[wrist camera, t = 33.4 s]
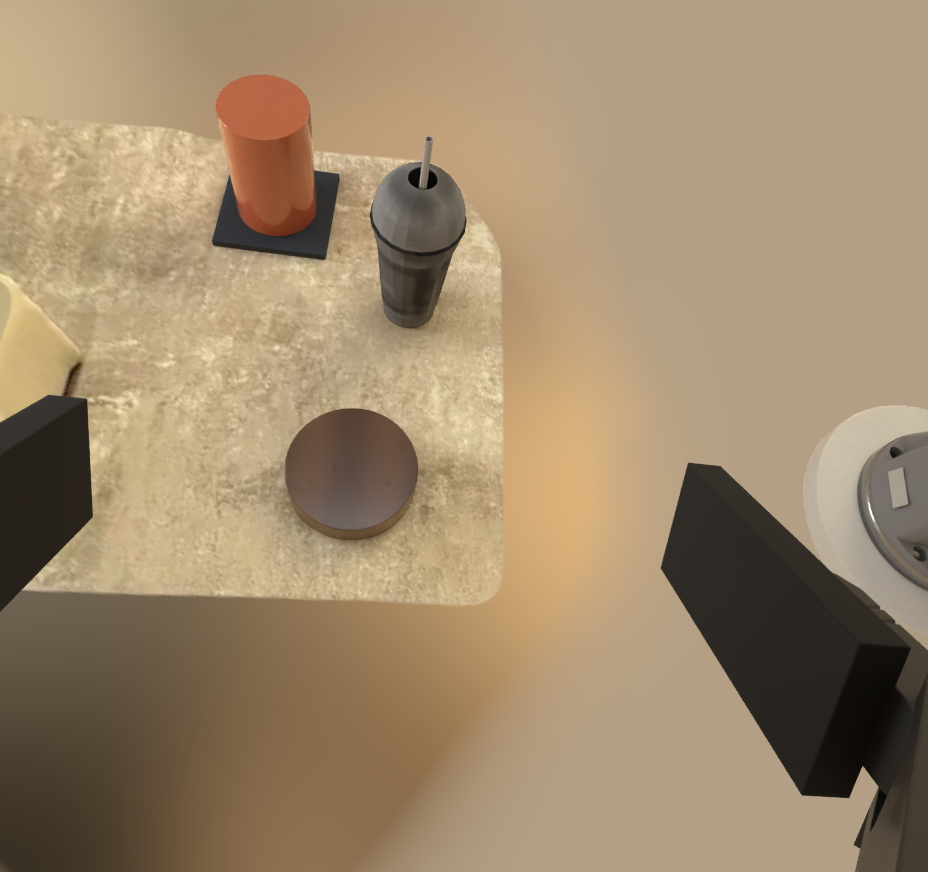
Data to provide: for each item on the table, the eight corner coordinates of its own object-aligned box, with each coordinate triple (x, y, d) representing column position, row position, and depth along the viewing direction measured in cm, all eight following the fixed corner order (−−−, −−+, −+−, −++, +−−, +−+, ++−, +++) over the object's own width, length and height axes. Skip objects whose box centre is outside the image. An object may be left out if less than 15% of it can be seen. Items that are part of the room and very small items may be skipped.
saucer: (420, 428, 58) (422, 415, 56) (409, 545, 54) (412, 536, 51) (298, 415, 57) (295, 401, 55) (277, 533, 53) (274, 523, 50)
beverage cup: (447, 275, 65) (481, 90, 47) (450, 342, 62) (487, 171, 44) (368, 271, 64) (372, 80, 46) (367, 339, 61) (370, 163, 43)
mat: (339, 178, 68) (339, 173, 67) (325, 259, 64) (324, 255, 63) (234, 163, 67) (233, 158, 66) (213, 245, 63) (211, 240, 62)
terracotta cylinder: (322, 182, 67) (315, 82, 57) (311, 241, 64) (302, 146, 54) (245, 171, 66) (225, 68, 56) (230, 231, 63) (206, 132, 53)
